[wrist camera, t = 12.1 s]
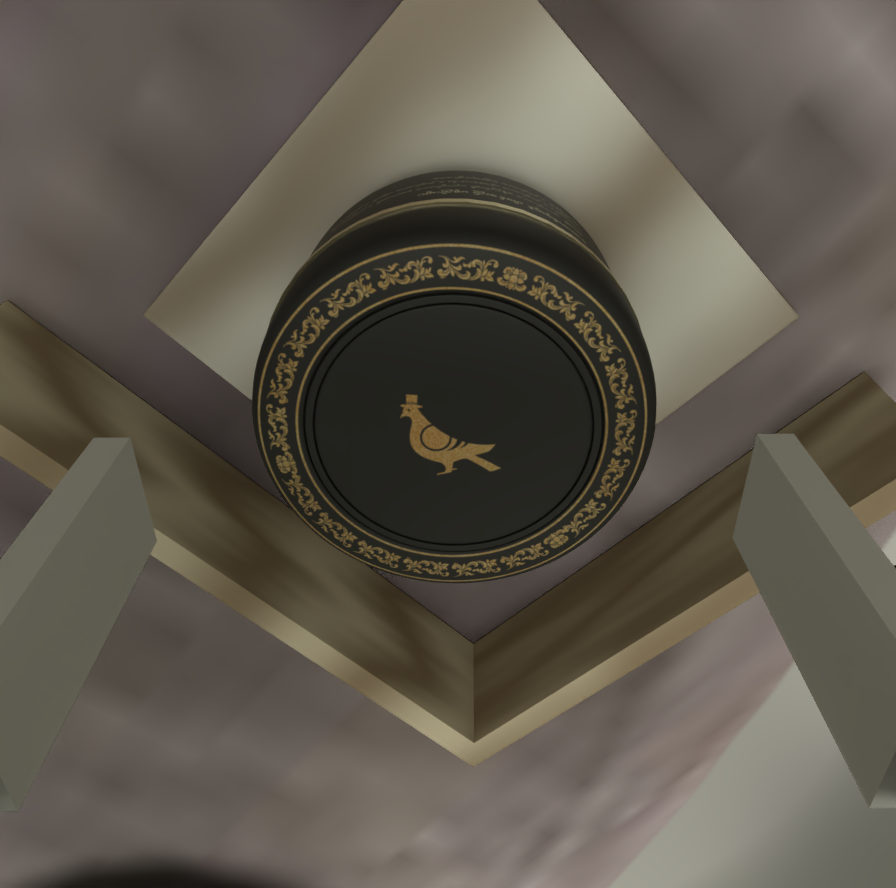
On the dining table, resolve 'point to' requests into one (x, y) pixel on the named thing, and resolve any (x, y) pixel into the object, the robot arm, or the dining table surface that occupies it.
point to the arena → (291, 244)
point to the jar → (454, 382)
